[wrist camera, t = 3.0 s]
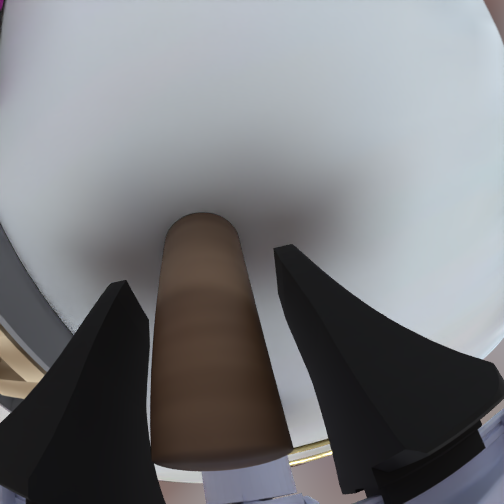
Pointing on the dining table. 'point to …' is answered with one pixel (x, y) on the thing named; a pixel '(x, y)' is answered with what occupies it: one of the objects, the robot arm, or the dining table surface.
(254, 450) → the walnut peg
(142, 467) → the robot arm
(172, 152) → the dining table surface
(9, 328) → the charcoal tray
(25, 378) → the oak hole plate
